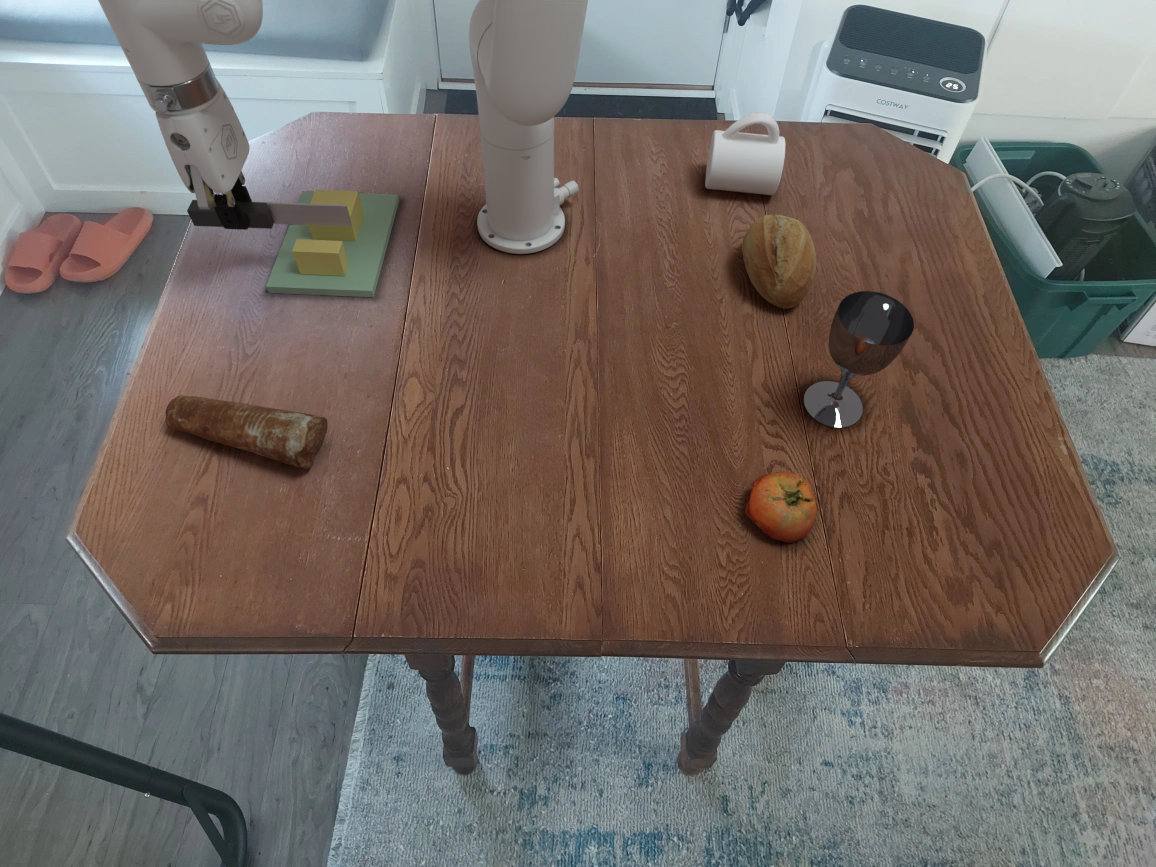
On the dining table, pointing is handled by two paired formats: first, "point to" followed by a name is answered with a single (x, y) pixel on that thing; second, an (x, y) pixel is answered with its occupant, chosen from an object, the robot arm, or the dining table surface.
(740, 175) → the mug
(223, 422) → the bread
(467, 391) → the dining table surface
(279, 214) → the knife
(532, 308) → the dining table surface
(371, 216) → the butter board
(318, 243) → the butter pat
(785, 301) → the bread roll
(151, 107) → the robot arm
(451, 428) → the dining table surface
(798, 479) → the tomato
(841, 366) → the wine glass
